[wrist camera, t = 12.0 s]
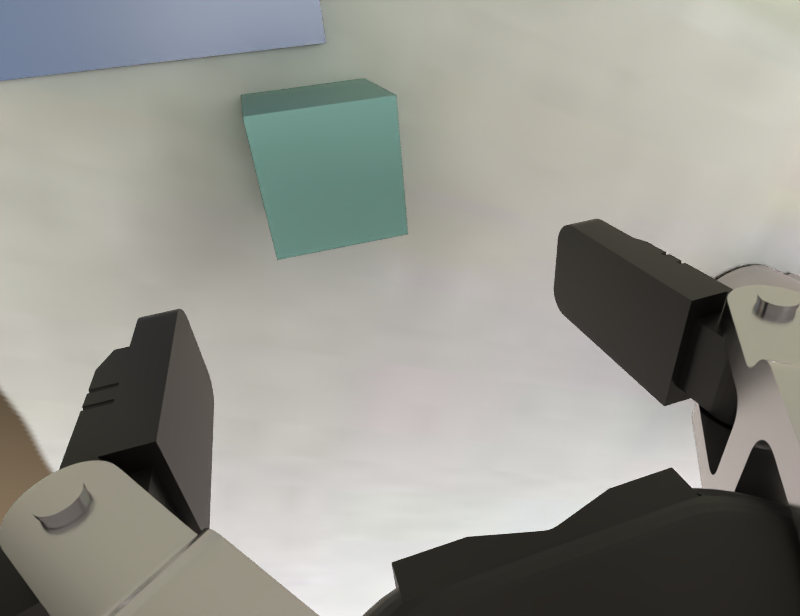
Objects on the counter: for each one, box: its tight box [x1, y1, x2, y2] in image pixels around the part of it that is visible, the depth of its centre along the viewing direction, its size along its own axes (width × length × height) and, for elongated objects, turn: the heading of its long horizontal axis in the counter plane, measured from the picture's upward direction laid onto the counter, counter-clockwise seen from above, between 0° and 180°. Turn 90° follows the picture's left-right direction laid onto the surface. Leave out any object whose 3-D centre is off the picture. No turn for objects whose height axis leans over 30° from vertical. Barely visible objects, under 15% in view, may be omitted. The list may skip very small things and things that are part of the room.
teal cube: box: [241, 78, 408, 260], centre depth 19 cm, size 5×5×5 cm
